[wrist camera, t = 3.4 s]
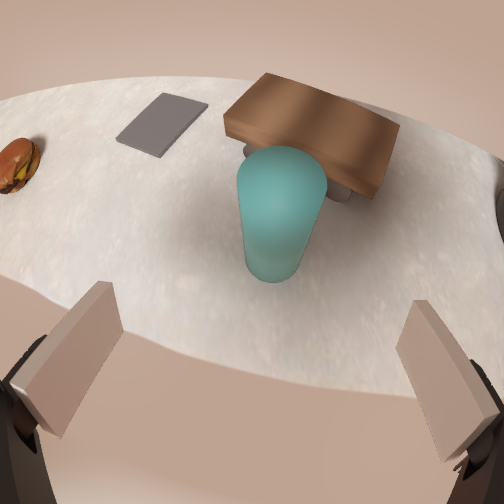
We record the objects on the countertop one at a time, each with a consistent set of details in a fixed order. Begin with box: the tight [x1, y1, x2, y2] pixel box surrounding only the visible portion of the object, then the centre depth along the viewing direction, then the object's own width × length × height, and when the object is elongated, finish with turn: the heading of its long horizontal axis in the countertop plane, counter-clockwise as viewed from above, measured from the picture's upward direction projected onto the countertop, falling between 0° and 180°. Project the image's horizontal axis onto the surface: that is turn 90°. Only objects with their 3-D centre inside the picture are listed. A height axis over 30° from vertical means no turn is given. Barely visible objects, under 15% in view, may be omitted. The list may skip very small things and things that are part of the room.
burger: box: [0, 138, 40, 194], centre depth 30 cm, size 10×9×5 cm
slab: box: [223, 73, 400, 202], centre depth 28 cm, size 16×9×6 cm, turn 61°
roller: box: [237, 146, 327, 283], centre depth 21 cm, size 5×5×12 cm
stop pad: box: [116, 93, 208, 158], centre depth 33 cm, size 8×10×1 cm
